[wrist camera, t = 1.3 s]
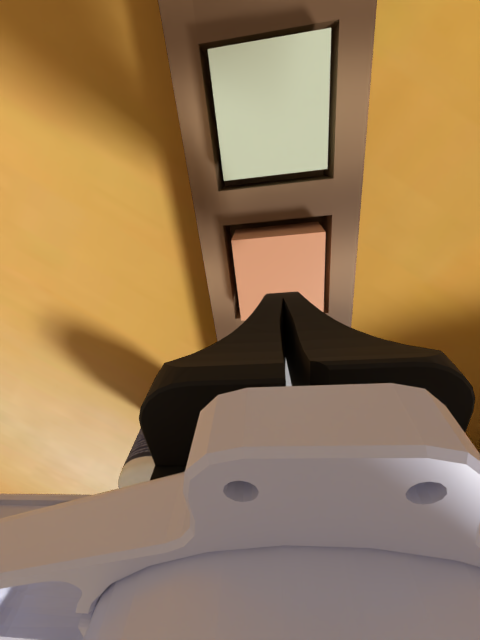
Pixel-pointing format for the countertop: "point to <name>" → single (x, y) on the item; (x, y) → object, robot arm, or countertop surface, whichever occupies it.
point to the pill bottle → (137, 464)
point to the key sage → (272, 104)
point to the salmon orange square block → (279, 263)
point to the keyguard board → (284, 189)
